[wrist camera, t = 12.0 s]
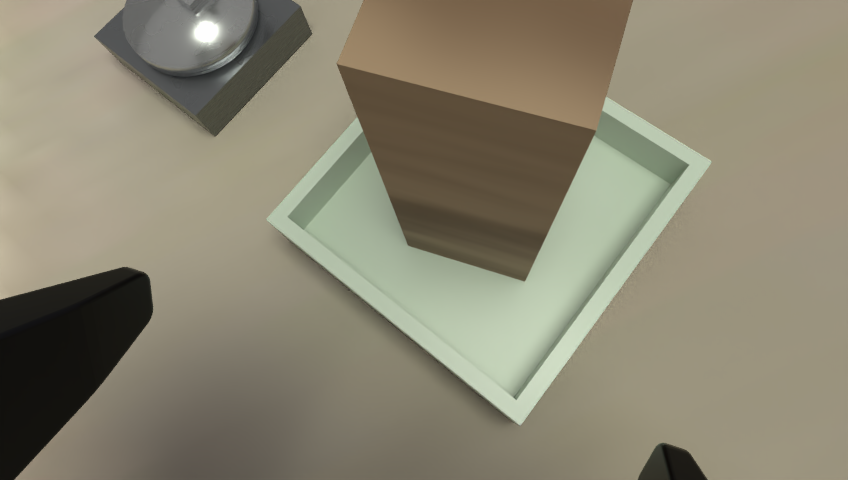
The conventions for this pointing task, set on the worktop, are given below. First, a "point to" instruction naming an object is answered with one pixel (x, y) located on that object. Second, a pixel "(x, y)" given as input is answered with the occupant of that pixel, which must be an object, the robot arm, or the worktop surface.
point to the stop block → (481, 115)
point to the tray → (485, 290)
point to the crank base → (232, 83)
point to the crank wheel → (189, 33)
